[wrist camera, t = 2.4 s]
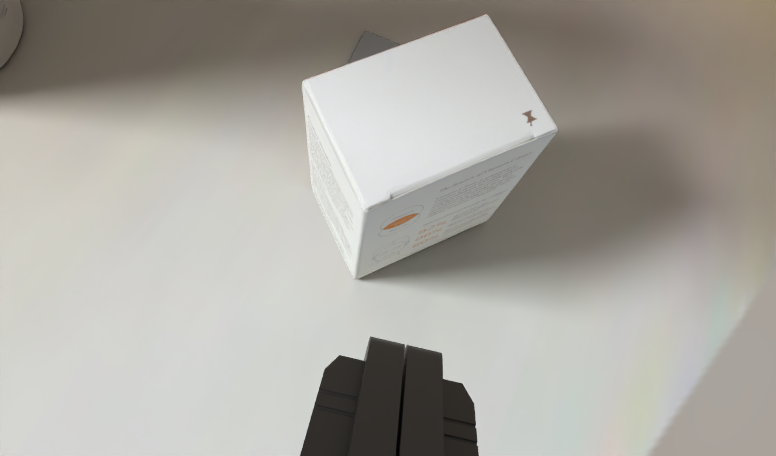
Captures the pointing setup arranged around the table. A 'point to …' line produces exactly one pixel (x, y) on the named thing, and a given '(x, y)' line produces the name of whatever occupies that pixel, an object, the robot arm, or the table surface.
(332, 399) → the robot arm
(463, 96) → the small box
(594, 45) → the table surface
